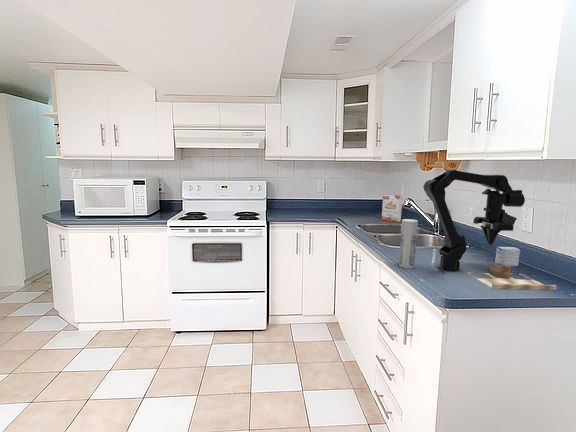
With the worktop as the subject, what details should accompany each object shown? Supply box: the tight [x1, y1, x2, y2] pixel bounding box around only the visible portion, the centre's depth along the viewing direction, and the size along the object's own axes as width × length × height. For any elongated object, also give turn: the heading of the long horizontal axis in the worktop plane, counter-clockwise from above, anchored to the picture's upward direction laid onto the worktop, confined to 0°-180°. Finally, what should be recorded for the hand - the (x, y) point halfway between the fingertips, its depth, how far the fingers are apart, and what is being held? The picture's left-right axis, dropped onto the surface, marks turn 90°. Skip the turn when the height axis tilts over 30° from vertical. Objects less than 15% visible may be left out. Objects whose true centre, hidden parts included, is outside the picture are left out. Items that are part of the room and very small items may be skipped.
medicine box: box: [494, 246, 521, 267], centre depth 160 cm, size 8×4×9 cm, turn 92°
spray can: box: [398, 218, 419, 269], centre depth 156 cm, size 6×6×20 cm
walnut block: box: [489, 262, 512, 279], centre depth 141 cm, size 5×5×4 cm
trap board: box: [467, 272, 558, 291], centre depth 136 cm, size 22×19×3 cm
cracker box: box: [381, 193, 404, 223], centre depth 290 cm, size 14×6×21 cm, turn 50°
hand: (490, 244), depth 149 cm, fingers closed
